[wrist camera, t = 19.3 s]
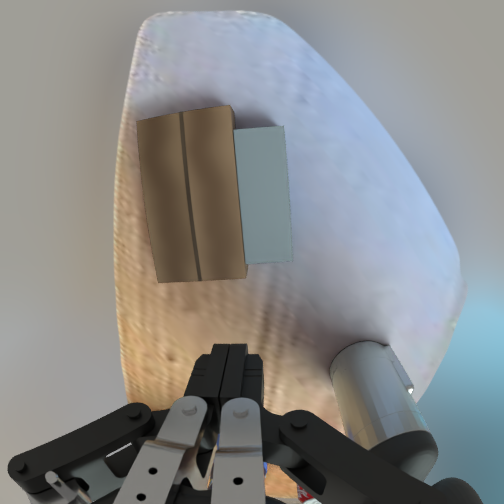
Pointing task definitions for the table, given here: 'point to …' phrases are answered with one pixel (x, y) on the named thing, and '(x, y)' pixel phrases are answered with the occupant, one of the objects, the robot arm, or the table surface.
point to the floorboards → (192, 195)
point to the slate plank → (264, 194)
